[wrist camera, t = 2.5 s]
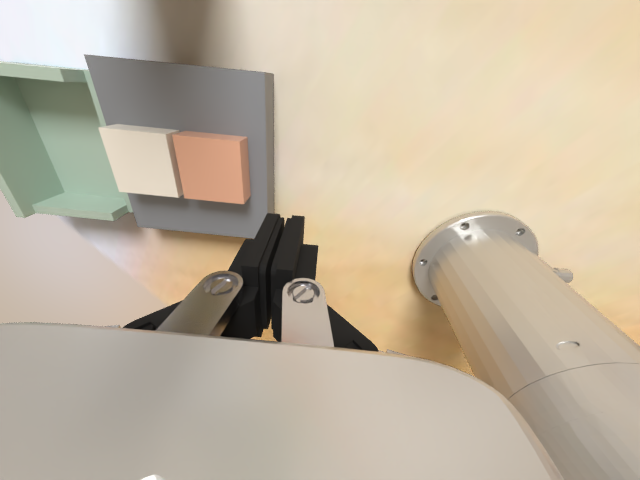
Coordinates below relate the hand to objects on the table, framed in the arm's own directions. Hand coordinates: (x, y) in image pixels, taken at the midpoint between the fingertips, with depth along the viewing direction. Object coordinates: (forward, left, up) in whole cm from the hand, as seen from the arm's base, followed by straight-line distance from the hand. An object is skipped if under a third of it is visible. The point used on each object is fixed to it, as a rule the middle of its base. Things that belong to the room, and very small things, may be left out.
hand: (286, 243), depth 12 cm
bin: (+22, 0, -15) cm, 26 cm away
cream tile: (+13, 0, -12) cm, 18 cm away
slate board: (+10, 0, -15) cm, 18 cm away
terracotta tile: (+8, 0, -12) cm, 14 cm away
